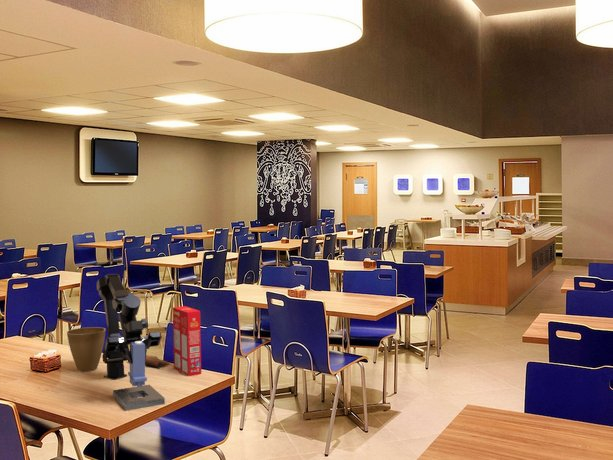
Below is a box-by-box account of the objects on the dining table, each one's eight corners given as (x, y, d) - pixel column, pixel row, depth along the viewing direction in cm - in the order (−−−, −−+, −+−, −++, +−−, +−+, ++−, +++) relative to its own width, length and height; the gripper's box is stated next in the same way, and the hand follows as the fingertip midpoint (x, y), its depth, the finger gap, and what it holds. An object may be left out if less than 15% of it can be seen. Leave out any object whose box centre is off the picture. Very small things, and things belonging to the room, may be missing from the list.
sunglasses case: (173, 363, 267) (167, 351, 264) (163, 375, 262) (156, 363, 259) (142, 358, 276) (135, 347, 273) (131, 370, 271) (125, 358, 268)
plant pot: (114, 367, 263) (113, 328, 262) (84, 376, 250) (83, 335, 249) (90, 362, 271) (89, 325, 270) (60, 370, 258) (58, 331, 257)
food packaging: (201, 374, 251) (200, 311, 250) (188, 376, 249) (187, 312, 247) (186, 366, 264) (184, 305, 262) (174, 368, 261) (172, 307, 259)
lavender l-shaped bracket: (128, 380, 223) (128, 338, 222) (139, 379, 225) (139, 337, 224) (134, 388, 214) (135, 344, 214) (146, 386, 216) (146, 343, 216)
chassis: (113, 395, 225) (112, 390, 225) (149, 390, 231) (149, 384, 231) (125, 410, 209) (125, 404, 209) (164, 403, 216) (164, 398, 215)
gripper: (105, 314, 217) (114, 352, 208) (159, 308, 227) (169, 345, 218) (101, 332, 225) (109, 371, 216) (153, 326, 234) (163, 363, 225)
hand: (138, 362), depth 218 cm, fingers closed on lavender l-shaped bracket, 4 cm apart
